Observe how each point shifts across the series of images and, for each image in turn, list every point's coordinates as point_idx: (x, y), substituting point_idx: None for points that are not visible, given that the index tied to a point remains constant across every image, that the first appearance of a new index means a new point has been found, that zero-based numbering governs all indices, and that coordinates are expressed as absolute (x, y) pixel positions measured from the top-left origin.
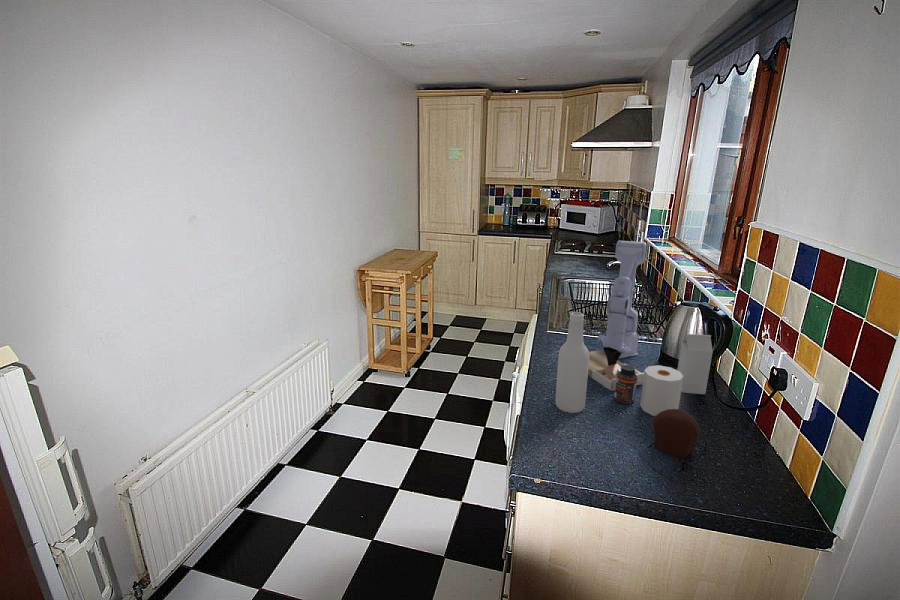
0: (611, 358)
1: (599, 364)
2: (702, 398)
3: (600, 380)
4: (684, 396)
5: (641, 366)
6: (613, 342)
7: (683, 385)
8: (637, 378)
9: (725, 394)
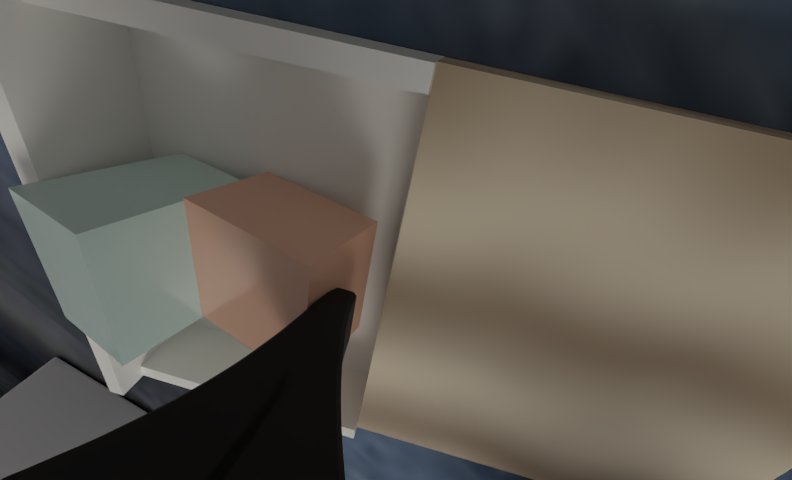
0: (203, 390)
1: (509, 307)
2: (7, 365)
3: (267, 19)
4: (23, 334)
5: (365, 467)
6: None
7: (7, 393)
8: None
9: None
